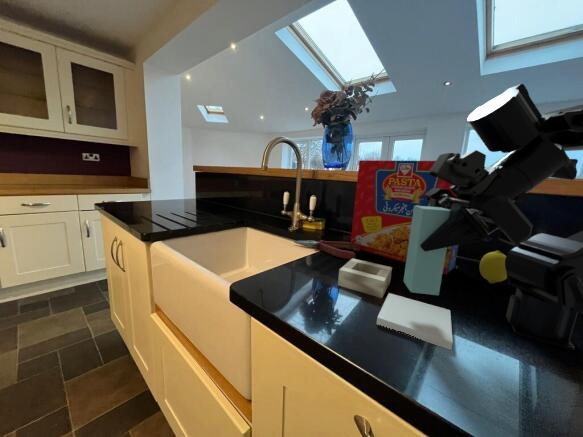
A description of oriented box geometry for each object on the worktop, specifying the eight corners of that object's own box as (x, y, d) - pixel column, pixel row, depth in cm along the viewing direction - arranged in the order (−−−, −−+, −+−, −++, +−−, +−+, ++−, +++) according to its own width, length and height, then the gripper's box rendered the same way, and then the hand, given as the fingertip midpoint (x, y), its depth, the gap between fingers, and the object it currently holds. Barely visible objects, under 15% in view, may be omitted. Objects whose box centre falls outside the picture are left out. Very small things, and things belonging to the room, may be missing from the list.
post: (428, 284, 41) (440, 207, 39) (438, 295, 37) (453, 210, 35) (403, 281, 42) (414, 205, 39) (410, 292, 38) (423, 208, 35)
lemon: (503, 282, 59) (510, 250, 57) (509, 291, 54) (517, 256, 52) (475, 276, 61) (481, 245, 60) (478, 284, 57) (485, 251, 55)
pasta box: (350, 246, 81) (359, 160, 76) (362, 243, 87) (371, 162, 82) (446, 274, 62) (467, 160, 57) (454, 267, 67) (474, 163, 62)
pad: (448, 316, 42) (450, 310, 42) (451, 350, 34) (452, 342, 33) (387, 298, 47) (388, 292, 47) (376, 324, 39) (377, 317, 38)
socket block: (390, 282, 55) (392, 267, 54) (382, 298, 47) (384, 281, 47) (350, 272, 59) (352, 258, 59) (337, 285, 52) (339, 269, 51)
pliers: (302, 241, 86) (302, 233, 86) (360, 251, 78) (361, 243, 78) (288, 249, 76) (289, 241, 75) (354, 262, 68) (355, 253, 67)
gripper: (444, 142, 44) (373, 200, 47) (525, 119, 25) (400, 215, 29) (484, 189, 44) (411, 243, 47) (593, 199, 26) (460, 285, 29)
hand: (417, 244), depth 38 cm, fingers closed on post, 4 cm apart
